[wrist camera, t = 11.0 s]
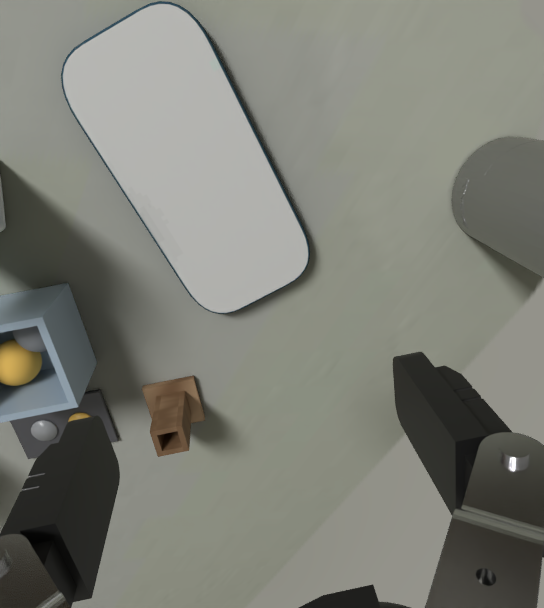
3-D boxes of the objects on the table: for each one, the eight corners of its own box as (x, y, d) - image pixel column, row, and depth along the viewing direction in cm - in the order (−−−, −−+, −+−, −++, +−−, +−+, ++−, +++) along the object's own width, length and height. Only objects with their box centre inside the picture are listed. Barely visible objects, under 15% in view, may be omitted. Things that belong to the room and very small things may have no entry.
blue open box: (68, 282, 42) (42, 317, 36) (97, 362, 45) (78, 407, 39) (-27, 300, 42) (-70, 338, 35) (9, 379, 45) (-24, 427, 39)
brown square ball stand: (193, 375, 47) (191, 412, 42) (204, 416, 49) (203, 457, 44) (142, 385, 47) (133, 424, 42) (156, 426, 49) (149, 468, 44)
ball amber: (5, 362, 38) (-6, 399, 40) (54, 357, 42) (42, 391, 43) (-12, 331, 40) (-22, 367, 42) (36, 328, 44) (25, 362, 45)
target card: (100, 389, 47) (98, 393, 46) (118, 438, 49) (117, 442, 49) (6, 408, 46) (4, 411, 46) (29, 456, 49) (27, 460, 48)
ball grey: (60, 294, 42) (51, 306, 39) (74, 336, 44) (66, 352, 40) (13, 305, 42) (-2, 318, 38) (28, 347, 43) (15, 364, 39)
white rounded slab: (318, 260, 44) (323, 267, 42) (208, 317, 45) (208, 327, 44) (183, -13, 35) (182, -19, 33) (48, 67, 36) (39, 66, 34)
